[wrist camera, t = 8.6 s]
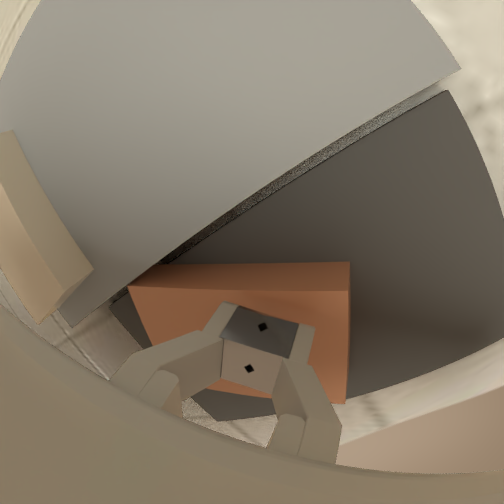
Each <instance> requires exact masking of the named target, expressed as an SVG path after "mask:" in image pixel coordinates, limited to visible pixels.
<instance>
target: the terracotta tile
mask: <svg viewBox="0 0 504 504" xmlns="http://www.w3.org/2000/svg"><path fill="white" fill-rule="evenodd" d="M127 287H128V290H129V292H130V295H131V297H132V300H133V302H134V304H135V307H136V309H137V312H138V314H139V316H140V319H141V321H142V323H143V326H144V328H145V330H146V332H147V334H148V337H149V339H150V341H151V343H152V345H153V346H155V345H158V344H161V343H163V342H166V341H169V340H172V339H174V338H177V337H180V336H182V335H185V334H188V333H190V332H193V331H196V330H199V331H202V330H203V329H204V327H205V326H206V324H207V323H208V321H209V320H210V318H211V317H212V315H213V314H214V313H215V311H216V310H217V308H218V307H219V305H220V304H221V303H222V302H223V301H228V302H231V303H234V304H237V305H240V306H243V307H247V308H250V309H253V310H256V311H259V312H262V313H265V314H268V315H271V316H275V317H279V318H282V319H286V320H289V321H293V322H297V323H299V324H300V323H302V324H306V325H310V326H314V327H315V333H314V337H313V342H312V346H311V350H310V354H309V359H308V363H307V364H308V365H311V366H312V367H313V369H314V371H315V373H316V375H317V377H318V379H319V381H320V383H321V385H322V387H323V389H324V391H325V393H326V395H327V397H328V399H329V401H330V403H336V404H345V400H346V392H347V384H348V375H349V358H350V321H351V292H350V262H307V263H252V264H164V265H152V266H151V267H150V268H148V269H147V270H146V271H144V272H143V273H142V274H140V275H139V276H138V277H137V278H135V279H134V280H133V281H132V282H131V283H130V284H129V285H127ZM298 326H299V325H298ZM296 333H297V332H296ZM206 389H211V390H217V391H223V392H229V393H235V394H241V395H248V396H255V397H263V398H272V397H271V394H268V393H265V392H262V391H259V390H256V389H253V388H250V387H247V386H244V385H241V384H238V383H234V382H231V381H228V380H225V379H222V378H220V380H218V381H216V382H215V383H213V384H211V385H210V386H208V387H206Z"/></svg>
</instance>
